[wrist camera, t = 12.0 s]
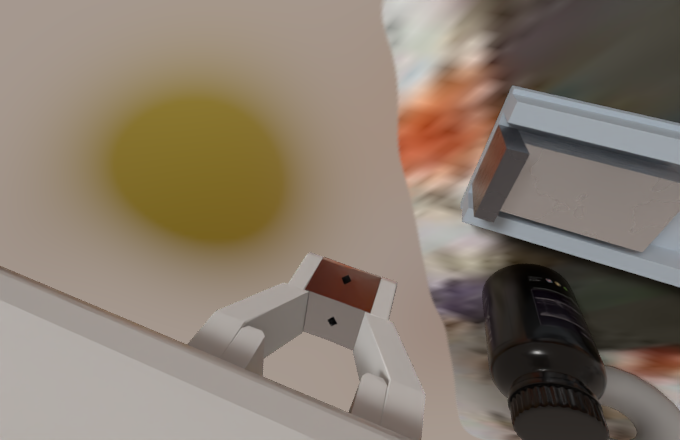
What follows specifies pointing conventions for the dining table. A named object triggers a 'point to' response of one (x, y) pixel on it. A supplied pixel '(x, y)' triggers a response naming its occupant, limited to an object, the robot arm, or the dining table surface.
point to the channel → (601, 133)
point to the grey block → (575, 188)
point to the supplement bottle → (543, 355)
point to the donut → (641, 406)
